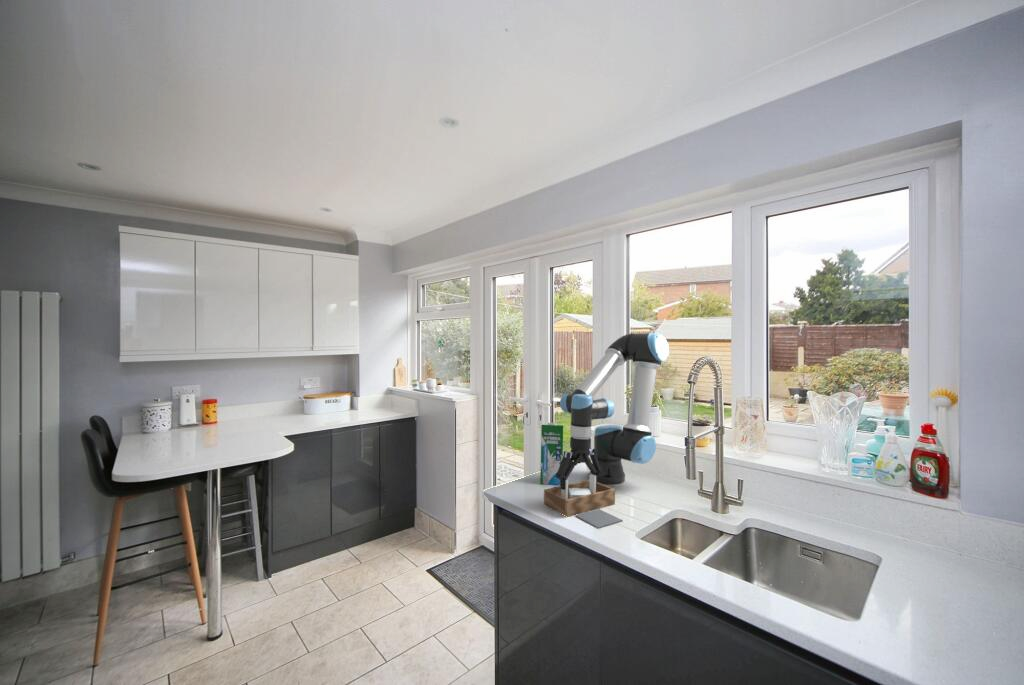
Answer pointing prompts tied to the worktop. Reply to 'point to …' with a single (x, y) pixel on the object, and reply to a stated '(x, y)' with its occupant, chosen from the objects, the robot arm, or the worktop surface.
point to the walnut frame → (579, 499)
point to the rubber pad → (599, 518)
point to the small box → (577, 492)
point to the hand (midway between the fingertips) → (578, 495)
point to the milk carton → (551, 453)
